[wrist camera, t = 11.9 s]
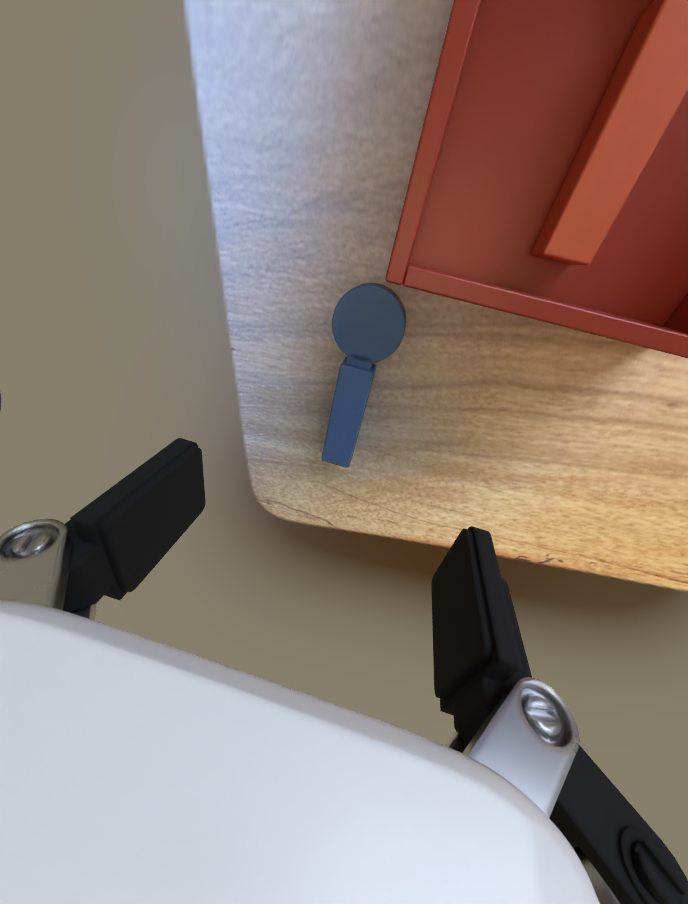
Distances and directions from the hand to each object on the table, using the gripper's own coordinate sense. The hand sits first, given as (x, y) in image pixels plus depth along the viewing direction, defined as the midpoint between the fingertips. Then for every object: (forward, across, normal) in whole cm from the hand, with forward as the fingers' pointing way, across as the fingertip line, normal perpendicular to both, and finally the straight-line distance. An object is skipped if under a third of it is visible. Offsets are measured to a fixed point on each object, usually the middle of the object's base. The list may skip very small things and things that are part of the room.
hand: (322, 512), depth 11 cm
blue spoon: (+7, +1, -2) cm, 8 cm away
